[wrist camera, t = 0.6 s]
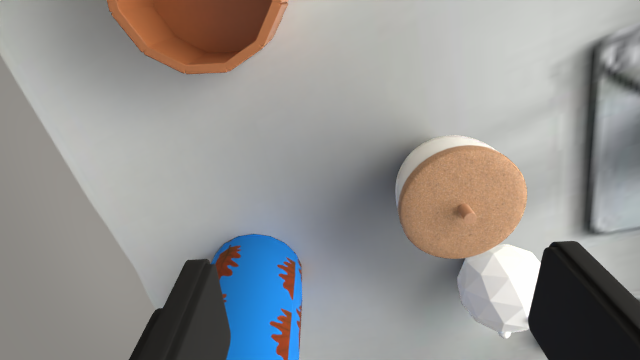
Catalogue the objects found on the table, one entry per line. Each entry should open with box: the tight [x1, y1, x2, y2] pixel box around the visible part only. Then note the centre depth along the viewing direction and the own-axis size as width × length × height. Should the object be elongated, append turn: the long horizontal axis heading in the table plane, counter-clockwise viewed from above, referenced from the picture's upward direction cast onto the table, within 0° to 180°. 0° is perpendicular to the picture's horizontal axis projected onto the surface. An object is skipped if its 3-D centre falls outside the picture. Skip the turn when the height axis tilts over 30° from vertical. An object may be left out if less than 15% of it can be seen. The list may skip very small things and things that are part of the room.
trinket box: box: [395, 135, 527, 259], centre depth 36 cm, size 11×11×9 cm
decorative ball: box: [457, 244, 541, 339], centre depth 42 cm, size 9×10×12 cm
